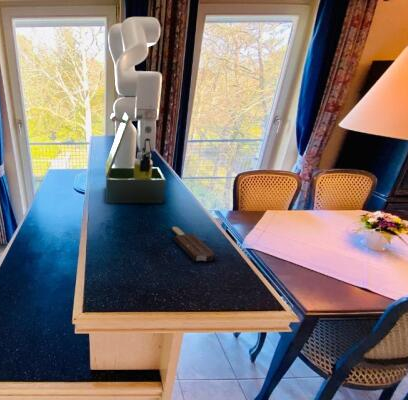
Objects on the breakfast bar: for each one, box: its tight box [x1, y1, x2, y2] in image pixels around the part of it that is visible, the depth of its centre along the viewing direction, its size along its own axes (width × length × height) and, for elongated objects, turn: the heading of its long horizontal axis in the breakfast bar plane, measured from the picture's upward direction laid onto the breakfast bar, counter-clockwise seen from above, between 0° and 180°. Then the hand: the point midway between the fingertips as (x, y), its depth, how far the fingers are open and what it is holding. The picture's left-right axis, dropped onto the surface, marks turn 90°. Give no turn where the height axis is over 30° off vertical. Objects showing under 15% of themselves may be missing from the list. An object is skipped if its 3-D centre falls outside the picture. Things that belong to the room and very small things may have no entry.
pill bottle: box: [134, 151, 153, 179], centre depth 92 cm, size 6×6×11 cm
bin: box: [105, 167, 167, 204], centre depth 95 cm, size 20×13×9 cm, turn 89°
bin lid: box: [104, 112, 130, 179], centre depth 89 cm, size 20×13×5 cm
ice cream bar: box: [171, 226, 215, 263], centre depth 69 cm, size 5×2×15 cm
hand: (143, 167), depth 92 cm, fingers closed on pill bottle, 6 cm apart
